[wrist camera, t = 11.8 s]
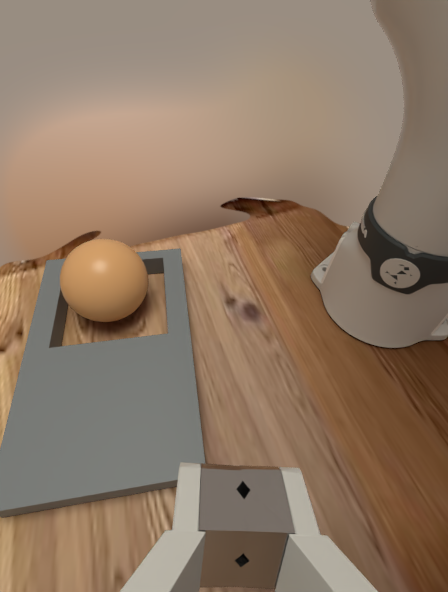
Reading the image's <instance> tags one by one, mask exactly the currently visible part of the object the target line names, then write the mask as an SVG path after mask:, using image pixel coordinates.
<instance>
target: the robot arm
mask: <svg viewBox="0 0 448 592" xmlns="http://www.w3.org/2000/svg"><path fill="white" fill-rule="evenodd" d="M370 2H371V5H372V9H373V12H374V15H375V17H376V19H377V22H378V23H379V24H380V26H381V27H382V29H383V31H384V32H385V34H386V35H387V37H388V39H389V41H390V43H391V45H392V47H393V50H394V53H395V55H396V58H397V61H398V64H399V69H400V72H401V77H402V84H403V92H404V116H403V124H402V130H401V134H400V137H399V141H398V144H397V147H396V151H395V153H394V157H393V159H392V162H391V165H390V167H389V170H388V172H387V175H386V177H385V180H384V182H383V185H382V187H381V189H380V191H379V194H378V196H376V197H375V198H374V199H373V200H372V201H371V202H370V204H369V206H368V208H367V209H366V211H365V212H364V215H363V217H362V219H361V223H360V224H359V223H357V222H353V223H352V225H351V226H350V227H349V229H348V231H347V232H345V233H344V234H343V235H342V237H341V239H340V241H339V243H338V245H337V247H336V249H335V251H334V252H333V253H332V254H331V255H330V256H328V257H327V258H326V259H325V260H324V261H323V262H321V263H320V264H319V265H318V266H317V267H316V268H314V270H313V271H312V273H311V279H312V280H313V282H314V283H315V285H316V286H317V287H318V288H319V290H320V292H321V294H322V299H323V302H324V305H325V308H326V310H327V312H328V313H329V315H330V316H331V318H332V319H333V320H334V321H335V322H336V323H337V324H338V325H339V326H340V327H341V328H342V329H343V330H345V331H346V332H347V333H349V334H350V335H352V336H354V337H355V338H357V339H359V340H361V341H364V342H366V343H369V344H372V345H376V346H380V347H387V348H400V347H406V346H410V345H413V344H415V343H417V342H420V341H423V340H444V339H446V338H447V337H448V0H370ZM200 587H246V588H265V589H275V592H378V591H377V590H376V589H375V588H374V587H373V585H372V584H371V583H370V582H369V581H368V580H367V579H366V578H365V577H364V576H363V574H362V573H361V572H360V571H359V570H358V569H357V568H356V567H355V566H354V564H353V563H352V562H351V561H350V560H349V559H348V558H347V557H346V556H345V555H344V553H343V552H342V551H341V550H340V549H339V548H338V547H337V546H336V545H335V543H334V542H333V541H332V540H331V539H330V538H329V537H328V536H327V535H321V534H320V531H319V527H318V524H317V521H316V518H315V514H314V511H313V508H312V504H311V501H310V498H309V495H308V491H307V488H306V485H305V481H304V478H303V475H302V472H301V470H300V469H299V468H290V467H279V468H278V467H271V466H231V465H217V464H204V463H201V465H200V463H185V462H181V463H180V466H179V473H178V482H177V491H176V500H175V509H174V518H173V527H172V530H165V532H164V533H163V534H162V536H161V537H160V538H159V540H158V541H157V542H156V544H155V545H154V546H153V548H152V549H151V550H150V552H149V553H148V554H147V556H146V557H145V558H144V560H143V561H142V562H141V564H140V565H139V567H138V568H137V569H136V571H135V572H134V573H133V575H132V576H131V577H130V579H129V580H128V581H127V583H126V584H125V585H124V587H123V588H122V589H121V591H120V592H199V588H200Z"/></svg>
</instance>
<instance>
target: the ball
mask: <svg viewBox="0 0 448 592" xmlns="http://www.w3.org/2000/svg"><path fill="white" fill-rule="evenodd" d="M60 287H61V291H62V294H63V296H64V298H65V300H66V302H67V303H68V305H69V306H70V307H71V308H72V309H73V310H74V311H75V312H76V313H78V314H79V315H81V316H83V317H84V318H87V319H89V320H93V321H98V322H112V321H117V320H120V319H123V318H125V317H127V316H128V315H130V314H131V313H133V312H134V311H135V310H136V309H137V308H138V307H139V306H140V304H141V303H142V302H143V300H144V298H145V295H146V292H147V288H148V274H147V270H146V267H145V265H144V262H143V261H142V259H141V258H140V256H139V255H138V254H137V253H136V252H135V251H134V250H133V249H132V248H130V247H129V246H127V245H125V244H123V243H121V242H119V241H115V240H111V239H96V240H91V241H88V242H85V243H83V244H81V245H80V246H78V247H76V248H75V249H74V250H73V251H72V252H71V253H70V254H69V255H68V257H67V258H66V260H65V261H64V263H63V266H62V268H61V273H60Z"/></svg>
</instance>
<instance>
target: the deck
mask: <svg viewBox="0 0 448 592" xmlns="http://www.w3.org/2000/svg"><path fill="white" fill-rule="evenodd" d="M136 253H137V254H138V255H139V256H140V258H141V259H142V261H143V262H144V265H145V267H146V270H147V274H155V273H164V278H165V293H166V309H167V324H168V334H160V335H152V336H144V337H135V338H127V339H119V340H111V341H102V342H94V343H86V344H77V345H69V346H61V345H62V339H63V333H64V327H65V321H66V315H67V309H68V303H67V302H66V300H65V298H64V296H63V294H62V291H61V287H60V273H61V268H62V266H63V263H64V261H65V260H66V259H58V260H47V262H46V266H45V270H44V274H43V278H42V282H41V286H40V290H39V295H38V299H37V303H36V307H35V311H34V315H33V319H32V323H31V327H30V331H29V335H28V339H27V343H26V347H25V351H24V355H23V359H22V363H21V367H20V371H19V375H18V380H17V384H16V388H15V392H14V396H13V400H12V404H11V408H10V412H9V416H8V420H7V424H6V428H5V432H4V436H3V440H2V444H1V448H0V517H9V516H14V515H20V514H26V513H31V512H37V511H42V510H48V509H54V508H59V507H65V506H70V505H76V504H82V503H87V502H93V501H98V500H104V499H110V498H115V497H121V496H126V495H132V494H138V493H143V492H149V491H154V490H160V489H166V488H171V487H177V482H178V473H179V466H180V463H181V462H185V463H200V465H201V463H204V464H205V456H204V448H203V439H202V431H201V422H200V413H199V405H198V396H197V387H196V379H195V370H194V362H193V353H192V344H191V336H190V327H189V318H188V310H187V301H186V293H185V284H184V275H183V267H182V258H181V249H170V250H159V251H148V252H136Z"/></svg>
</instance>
